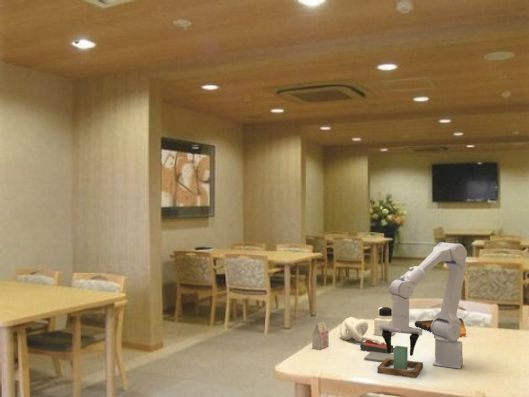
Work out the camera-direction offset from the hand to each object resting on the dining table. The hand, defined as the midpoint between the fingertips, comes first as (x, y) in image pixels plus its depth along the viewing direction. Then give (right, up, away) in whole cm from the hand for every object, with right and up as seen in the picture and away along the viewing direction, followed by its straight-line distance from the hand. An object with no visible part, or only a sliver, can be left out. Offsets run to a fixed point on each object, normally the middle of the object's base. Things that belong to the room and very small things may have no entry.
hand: (400, 353), depth 194 cm
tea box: (-25, -6, +30) cm, 40 cm away
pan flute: (+40, -8, +63) cm, 75 cm away
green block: (0, -6, 0) cm, 6 cm away
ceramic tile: (-4, -6, +15) cm, 17 cm away
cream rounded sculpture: (-8, -7, +44) cm, 45 cm away
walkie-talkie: (-5, -7, +29) cm, 30 cm away
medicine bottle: (+6, -7, +54) cm, 54 cm away
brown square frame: (0, -6, 0) cm, 6 cm away
